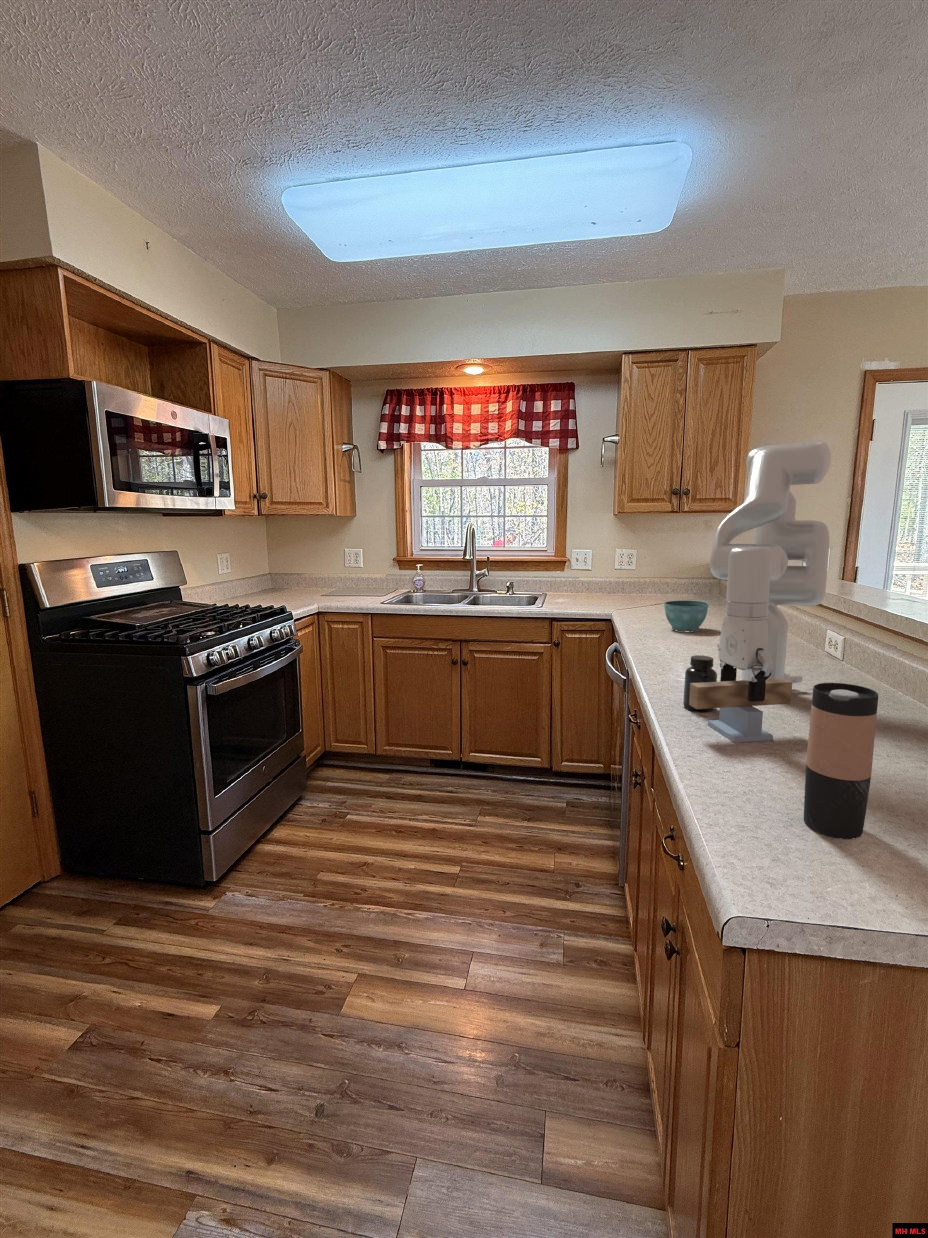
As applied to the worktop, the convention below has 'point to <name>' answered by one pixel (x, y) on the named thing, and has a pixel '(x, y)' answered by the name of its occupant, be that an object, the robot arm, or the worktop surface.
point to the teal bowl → (686, 614)
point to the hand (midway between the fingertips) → (741, 693)
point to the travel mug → (839, 758)
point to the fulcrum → (741, 724)
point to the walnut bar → (737, 694)
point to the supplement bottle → (698, 677)
